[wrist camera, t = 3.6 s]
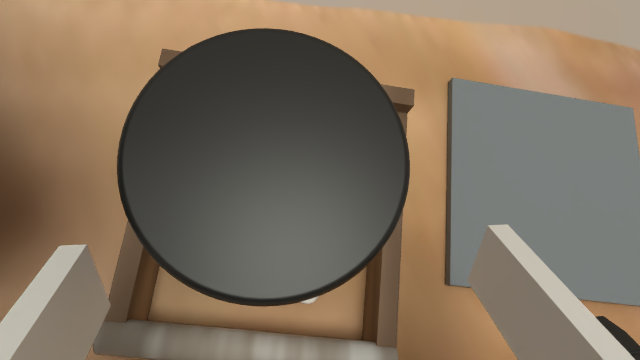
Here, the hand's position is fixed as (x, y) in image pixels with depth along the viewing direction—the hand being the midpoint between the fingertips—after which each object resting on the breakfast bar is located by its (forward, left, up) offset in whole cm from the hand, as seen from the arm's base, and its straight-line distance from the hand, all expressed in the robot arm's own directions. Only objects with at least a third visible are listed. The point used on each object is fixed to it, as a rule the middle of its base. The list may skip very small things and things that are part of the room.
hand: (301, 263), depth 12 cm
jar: (-1, +3, -9) cm, 10 cm away
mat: (+17, +7, -9) cm, 20 cm away
